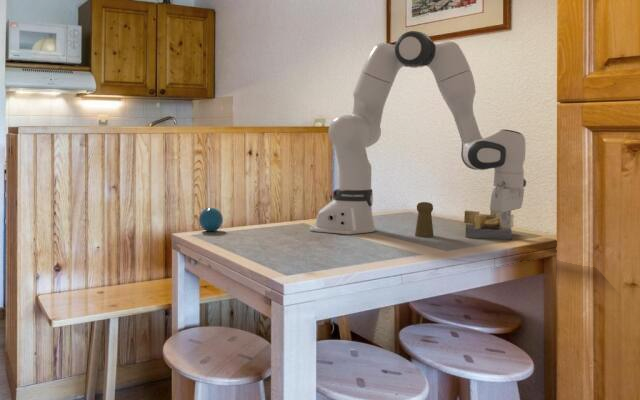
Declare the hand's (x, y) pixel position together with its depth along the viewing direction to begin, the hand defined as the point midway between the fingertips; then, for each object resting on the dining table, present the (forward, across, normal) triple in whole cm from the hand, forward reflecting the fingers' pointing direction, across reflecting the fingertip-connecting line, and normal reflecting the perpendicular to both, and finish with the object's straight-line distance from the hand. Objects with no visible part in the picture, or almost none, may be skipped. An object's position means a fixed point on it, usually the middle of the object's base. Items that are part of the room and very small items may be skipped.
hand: (504, 224), depth 184 cm
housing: (+4, +2, +6) cm, 8 cm away
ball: (+8, -49, +83) cm, 96 cm away
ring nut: (+1, +2, +6) cm, 6 cm away
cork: (+5, -12, +22) cm, 26 cm away
